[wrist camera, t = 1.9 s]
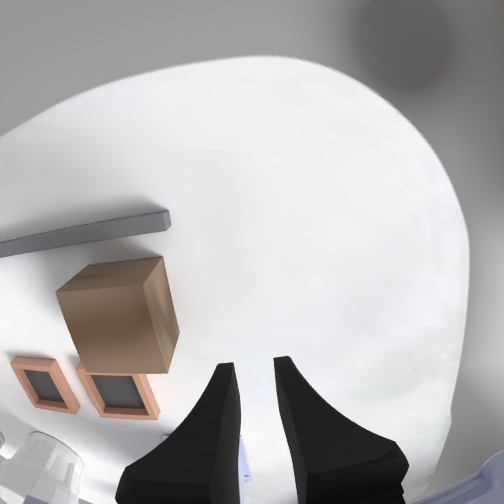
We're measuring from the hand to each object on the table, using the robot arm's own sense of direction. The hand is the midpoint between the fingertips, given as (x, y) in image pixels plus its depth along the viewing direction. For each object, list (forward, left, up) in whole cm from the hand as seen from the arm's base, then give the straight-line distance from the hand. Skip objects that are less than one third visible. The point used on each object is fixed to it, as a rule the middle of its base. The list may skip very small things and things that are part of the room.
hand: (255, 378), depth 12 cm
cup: (-22, +29, -10) cm, 37 cm away
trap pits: (-8, +17, -9) cm, 21 cm away
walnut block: (0, +9, -10) cm, 13 cm away
